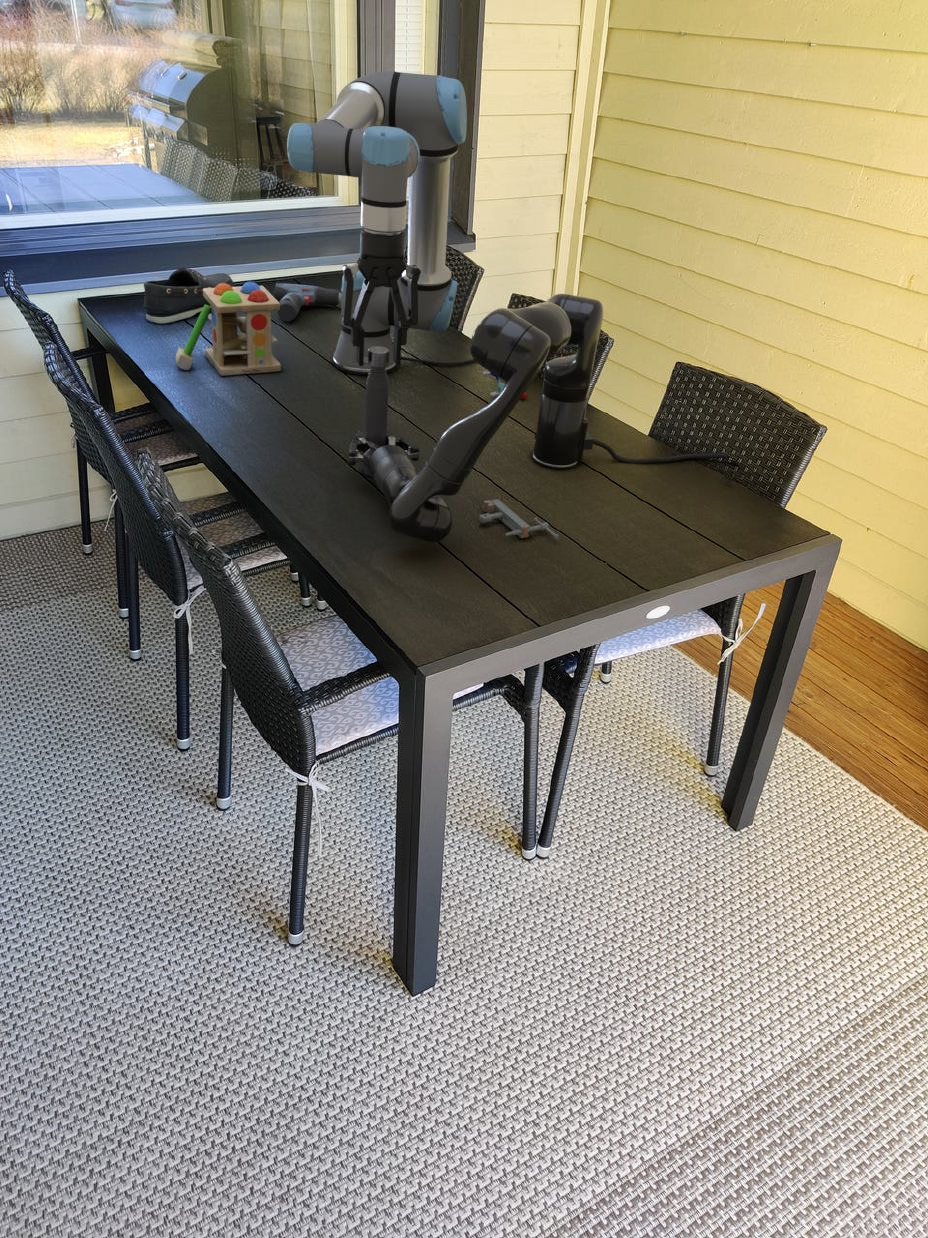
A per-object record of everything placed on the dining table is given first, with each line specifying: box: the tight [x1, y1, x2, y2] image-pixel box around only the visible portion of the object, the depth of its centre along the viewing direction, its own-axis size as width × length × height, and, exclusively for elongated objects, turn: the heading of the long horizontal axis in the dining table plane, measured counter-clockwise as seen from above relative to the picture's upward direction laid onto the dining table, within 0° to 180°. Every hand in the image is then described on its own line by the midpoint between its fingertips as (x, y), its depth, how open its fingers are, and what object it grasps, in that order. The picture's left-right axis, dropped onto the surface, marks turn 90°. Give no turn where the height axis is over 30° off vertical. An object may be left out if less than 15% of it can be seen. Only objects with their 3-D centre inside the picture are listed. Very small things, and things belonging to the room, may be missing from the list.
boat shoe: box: [143, 267, 235, 324], centre depth 260 cm, size 13×33×10 cm, turn 147°
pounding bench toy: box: [174, 281, 282, 377], centre depth 225 cm, size 23×14×18 cm, turn 116°
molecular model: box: [481, 370, 528, 400], centre depth 225 cm, size 12×10×10 cm
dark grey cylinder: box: [363, 366, 390, 478], centre depth 184 cm, size 4×4×24 cm
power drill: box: [274, 282, 342, 322], centre depth 265 cm, size 5×19×20 cm
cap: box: [368, 346, 389, 367], centre depth 177 cm, size 4×4×3 cm
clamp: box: [478, 498, 560, 540], centre depth 176 cm, size 15×2×10 cm
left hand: (378, 362), depth 178 cm, fingers open, 6 cm apart
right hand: (371, 434), depth 189 cm, fingers closed on dark grey cylinder, 4 cm apart
